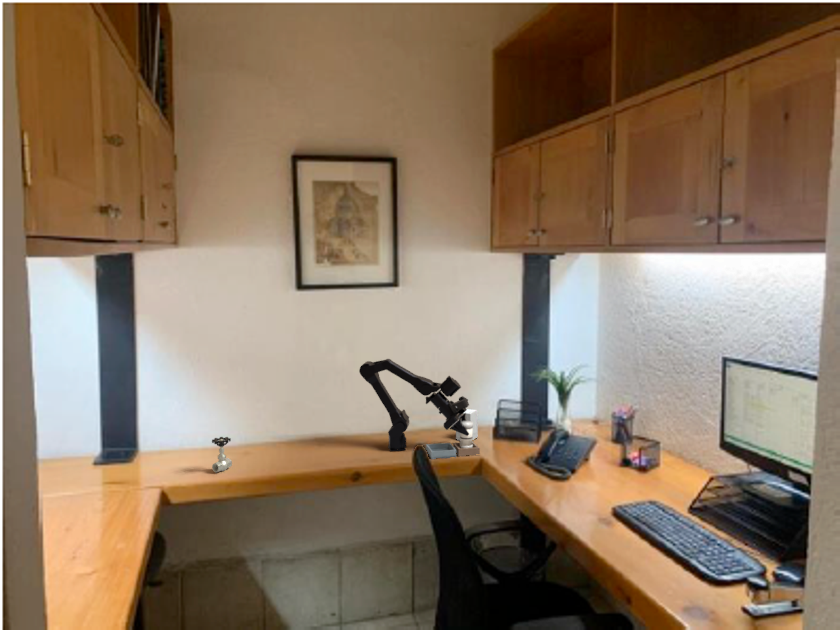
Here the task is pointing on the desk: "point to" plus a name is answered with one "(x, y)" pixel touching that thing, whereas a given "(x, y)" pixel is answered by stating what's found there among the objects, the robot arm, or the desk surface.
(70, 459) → the desk surface
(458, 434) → the supplement box
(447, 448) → the parts tray
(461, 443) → the cartridge fuse
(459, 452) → the brown square tray
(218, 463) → the valve
